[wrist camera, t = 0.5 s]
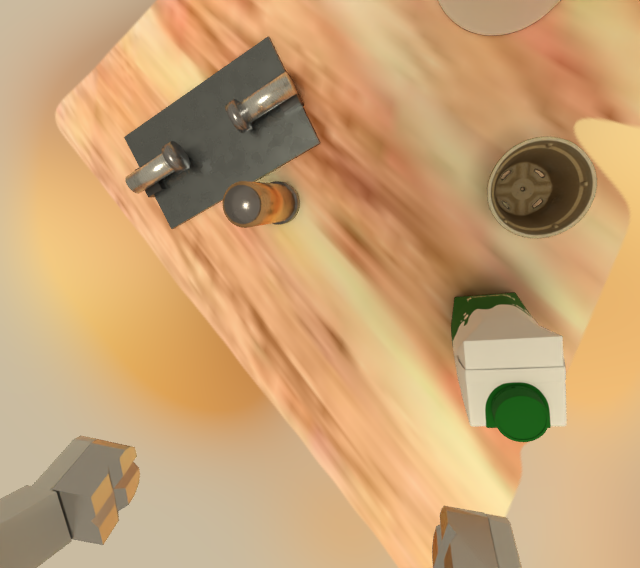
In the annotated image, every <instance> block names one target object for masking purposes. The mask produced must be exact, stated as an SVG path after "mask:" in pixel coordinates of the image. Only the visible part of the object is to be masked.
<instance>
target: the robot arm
mask: <svg viewBox="0 0 640 568" xmlns="http://www.w3.org/2000/svg"><path fill="white" fill-rule="evenodd" d="M560 1H561V0H438V2H439V4H440V6H441V7H442V9H443V10H444V12H445V13H446V14H447V16H448V17H449V18H450V19H451V20H452V21H453V22H455V23H456V24H457V25H459V26H460V27H462V28H464V29H466V30H468V31H470V32H473V33H477V34H482V35H503V34H508V33H512V32H516V31H518V30H521V29H523V28H526V27H528V26H530V25H531V24H533V23H535V22H536V21H538V20H539V19H541V18H542V17H543V16H545V15H546V14H547V13H548V12H549V11H550V10H551V9H552V8H553V7H554V6H555V5H556V4H557V3H558V2H560ZM136 457H137V455H136V450H135V447H131V446H127V445H122V444H118V443H112V442H108V441H104V440H99V439H95V438H90V437H85V436H79V437H77V438H76V439H74V440H73V441H72V442H71V443H70V444H69V445H68V447H66V449H65V450H64V451H63V452H62V453H61V454H60V455H59V456H58V458H57V459H56V460H55V461H54V462H53V463H52V464H51V465H50V466H49V468H48V469H47V470H46V471H45V472H44V473H43V474H42V475H41V477H40V478H39V479H38V480H37V481H36V482H35V483H34V484H33V485H32V486H28V485H26V486H24V487H22V488H20V489H18V490H16V491H15V492H13V493H11V494H9V495H7V496H5V497H3V498H1V499H0V568H37V567H38V566H40V565H41V564H42V563H43V562H45V561H46V560H47V559H49V558H50V557H51V556H52V555H54V554H55V553H56V552H58V551H59V550H61V549H62V548H63V547H65V546H66V545H67V544H69V543H70V542H71V539H74V540H79V541H84V542H90V543H96V544H100V545H104V543H105V541H106V540H107V538H108V537H109V535H110V533H111V532H112V530H113V529H114V527H115V526H116V524H117V522H118V521H119V518H118V517H119V516H118V511H119V510H121V509H122V508H124V507H126V506H127V505H129V503H130V502H131V500H132V498H133V497H134V495H135V492H136V490H137V487H138V484H139V478H140V472H139V467H138V466H137V465H136V464H135V463H134V462H133V461H134V460H135V458H136ZM432 559H433V568H522V566H521V562H520V559H519V555H518V551H517V547H516V543H515V539H514V535H513V531H512V528H511V524H510V522H509V520H508V519H507V518H505V517H500V516H495V515H489V514H484V513H482V512H476V511H471V510H465V509H459V508H454V507H448V506H444V507H443V508H442V510H441V513H440V525H438V526H436V529H435V533H434V537H433V546H432Z"/></svg>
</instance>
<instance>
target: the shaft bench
mask: <svg viewBox="0 0 640 568" xmlns="http://www.w3.org/2000/svg"><path fill="white" fill-rule="evenodd" d="M303 106H304V105H303V102H302V100H301V98H300V96H299V94H298V92H297V90H296V88H295V85H294V83H293V81H292V80H291V78H290V75H289V74H287V73H286V71H285V69H284V67H283V65H282V63H281V61H280V58H279V56H278V54H277V52H276V50H275V48H274V46H273V44H272V42H271V40H270V38H269V37H267V38H265V39H264V40H262V41H261V42H260V43H258V44H257V45H255V46H254V47H252V48H251V49H250V50H248V51H247V52H245V53H244V54H242V55H241V56H240V57H238V58H237V59H235V60H234V61H232V62H231V63H230V64H228V65H227V66H225V67H224V68H222V69H221V70H220V71H218V72H217V73H215V74H214V75H212V76H211V77H210V78H208V79H207V80H205V81H204V82H202V83H201V84H200V85H198V86H197V87H195V88H194V89H192V90H191V91H190V92H188V93H187V94H185V95H184V96H182V97H181V98H180V99H178V100H177V101H175V102H174V103H172V104H171V105H170V106H168V107H167V108H165V109H164V110H162V111H161V112H160V113H158V114H157V115H155V116H154V117H152V118H151V119H150V120H148V121H147V122H145V123H144V124H142V125H141V126H140V127H138V128H137V129H135V130H134V131H132V132H131V133H130V134H128V135H127V136H125V137H124V138H125V140H126V142H127V144H128V146H129V148H130V149H131V151H132V153H133V155H134V157H135V159H136V161H137V163H138V165H139V168H138V169H136V170H135V171H134V172H133V173H131V174H130V175H128V176H127V177H126V183H127V185H128V187H129V188H130V189H131V190H132V191H133V192H135V193H138V194H139V193H141V192H142V191H144V190H145V192H146V194H147V195H148V197H155V198H156V200H157V202H158V204H159V206H160V207H161V209H162V211H163V213H164V215H165V217H166V219H167V221H168V223H169V225H170V227H171V229H174V228H176V227H177V226H179V225H181V224H183V223H184V222H186V221H188V220H189V219H191V218H193V217H195V216H196V215H198V214H200V213H202V212H203V211H205V210H207V209H208V208H210V207H212V206H214V205H215V204H217V203H219V202H220V201H222V200H223V197H224V194H225V192H226V190H227V189H228V188H229V187H230V186H231V185H232V184H234V183H236V182H239V181H248V182H255V181H256V180H258V179H260V178H262V177H263V176H265V175H267V174H269V173H270V172H272V171H274V170H275V169H277V168H279V167H281V166H282V165H284V164H286V163H287V162H289V161H291V160H293V159H294V158H296V157H298V156H299V155H301V154H303V153H305V152H306V151H308V150H310V149H311V148H313V147H315V146H317V145H318V144H320V142H319V139H318V137H317V135H316V133H315V131H314V129H313V127H312V125H311V123H310V121H309V119H308V117H307V115H306V112H305V110H304V108H303Z"/></svg>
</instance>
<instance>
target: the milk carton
mask: <svg viewBox="0 0 640 568" xmlns="http://www.w3.org/2000/svg"><path fill="white" fill-rule="evenodd" d="M451 335H452V345H453V352H454V358H455V364H456V370H457V376H458V381H459V385H460V388H461V393H462V397H463V401H464V405H465V409H466V412H467V416H468V419H469V423H470V425H471V426H486V427H487V428H498V429H499V431H500V432H501V433H502V434H503V435H504V436H506V437H507V438H509V439H511V440H514V441H518V442H529V441H533V440H535V439H537V438H539V437H540V436H542V435H543V434H544V433H545V431H546V430H547V428H550V426H566V425H567V419H566V384H565V380H566V369H565V361H564V357H563V339H562V336H560V335H558V334H556V333H554V332H552V331H550V330H548V329H546V328H544V327H542V326H540V325H539V324H538V323H537V322H536V321H535V320H534V319H533V317H532V316H531V315H530V314H529V312H528V311H527V309H526V308H525V306H524V305H523V303H522V302H521V301H520V299H519V298H518V296H517V295H516V293H502V294H489V295H476V296H463V297H455V298H454V307H453V315H452V322H451Z"/></svg>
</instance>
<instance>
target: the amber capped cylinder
mask: <svg viewBox="0 0 640 568" xmlns="http://www.w3.org/2000/svg"><path fill="white" fill-rule="evenodd" d="M299 206H300V201H299V196H298V194H297V192H296V190H295V189H294V188H293V187H292V186H291V185H289V184H287V183H284V182H271V183H260V182H248V181H239V182H236V183H234V184H232V185H231V186H230V187H229V188H228V189H227V190H226V192H225V194H224V197H223V210H224V213H225V215H226V217H227V218H228V220H229V221H230V222H231V223H233V224H234V225H236V226H239V227H244V228H246V227H253V226H259V225H265V224H271V223H273V224H284V223H287V222H289V221H291V220H292V219H293V218H294V217H295V216H296V215H297V213H298V210H299Z"/></svg>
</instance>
